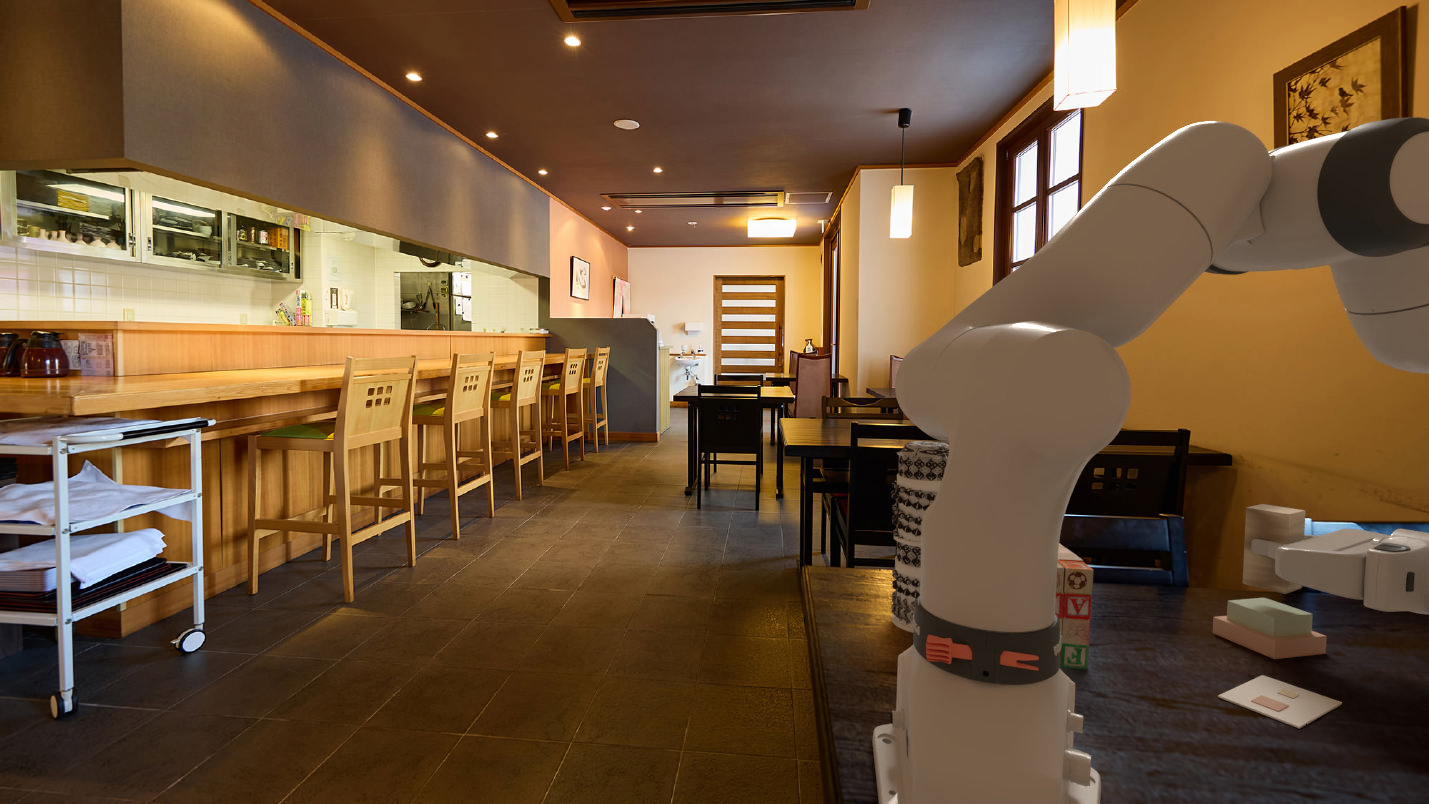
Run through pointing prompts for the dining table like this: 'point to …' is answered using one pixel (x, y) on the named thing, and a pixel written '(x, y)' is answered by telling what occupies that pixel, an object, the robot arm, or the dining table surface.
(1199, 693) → the dining table surface
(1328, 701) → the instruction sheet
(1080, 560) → the stack of blocks
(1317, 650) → the tower base
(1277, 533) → the maple column
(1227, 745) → the dining table surface
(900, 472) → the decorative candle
